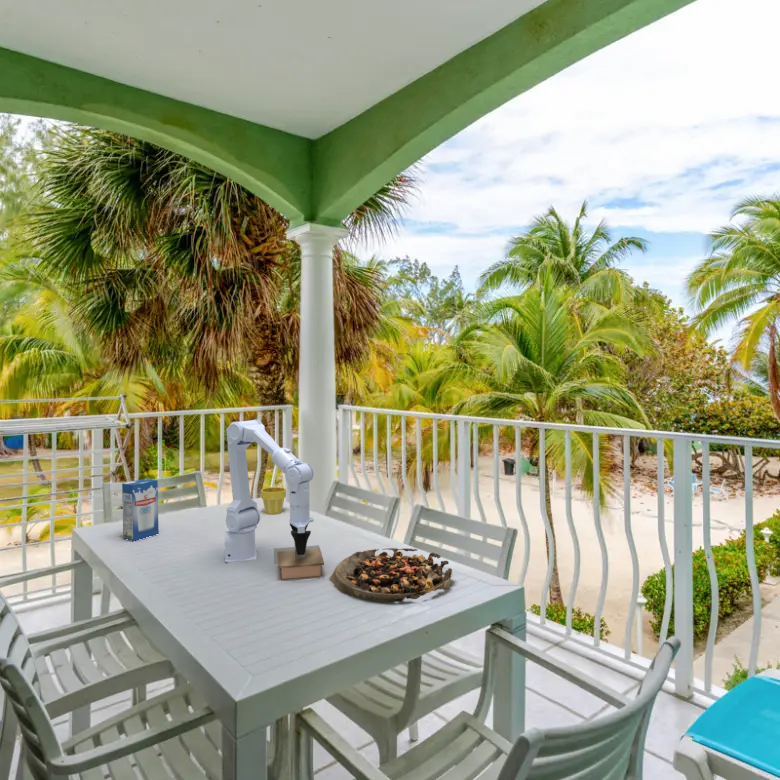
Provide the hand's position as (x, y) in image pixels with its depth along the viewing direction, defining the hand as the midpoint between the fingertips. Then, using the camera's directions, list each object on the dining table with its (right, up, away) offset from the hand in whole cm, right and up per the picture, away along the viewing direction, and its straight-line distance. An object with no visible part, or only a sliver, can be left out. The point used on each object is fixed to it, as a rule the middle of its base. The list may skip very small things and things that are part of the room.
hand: (300, 550), depth 165 cm
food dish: (+27, -7, -5) cm, 28 cm away
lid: (0, -3, 0) cm, 3 cm away
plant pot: (-22, -4, +69) cm, 73 cm away
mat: (-3, -6, +15) cm, 16 cm away
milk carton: (-63, -6, +36) cm, 73 cm away
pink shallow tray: (0, -7, 0) cm, 7 cm away
